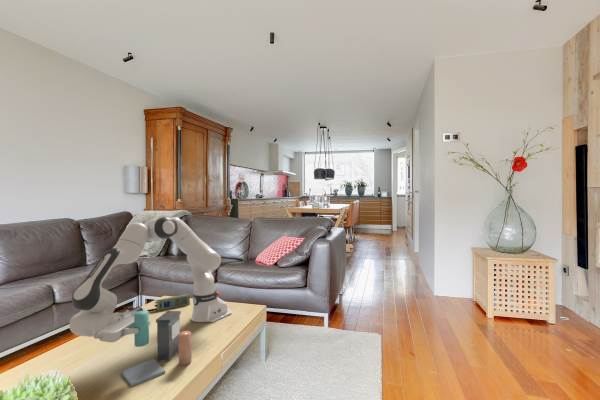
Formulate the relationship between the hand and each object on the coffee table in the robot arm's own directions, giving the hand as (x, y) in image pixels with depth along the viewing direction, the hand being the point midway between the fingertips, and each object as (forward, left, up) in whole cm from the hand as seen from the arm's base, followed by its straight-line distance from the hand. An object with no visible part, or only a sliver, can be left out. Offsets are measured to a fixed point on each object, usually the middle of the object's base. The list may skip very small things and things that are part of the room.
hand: (143, 327), depth 120 cm
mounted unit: (-13, -7, -18) cm, 23 cm away
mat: (0, 0, -18) cm, 18 cm away
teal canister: (+1, -1, -6) cm, 7 cm away
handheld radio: (-36, -65, -19) cm, 76 cm away
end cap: (-14, -59, -18) cm, 64 cm away
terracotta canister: (-15, +4, -18) cm, 24 cm away
